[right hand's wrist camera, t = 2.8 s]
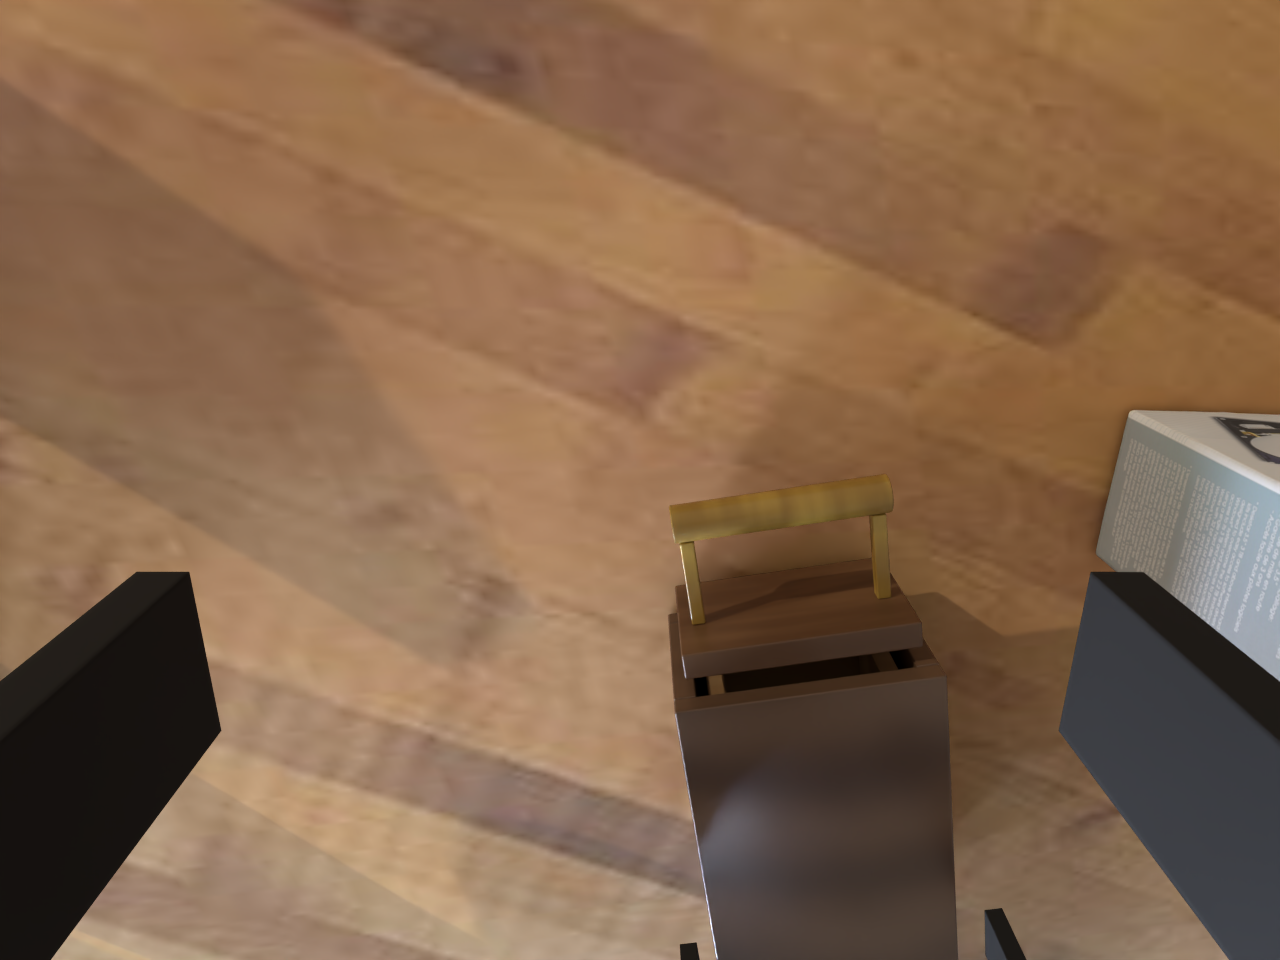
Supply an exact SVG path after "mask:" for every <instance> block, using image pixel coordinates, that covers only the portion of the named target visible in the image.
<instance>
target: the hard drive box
mask: <svg viewBox="0 0 1280 960" xmlns="http://www.w3.org/2000/svg"><path fill="white" fill-rule="evenodd" d="M1096 554H1097V556H1098V557H1100V558H1101V559H1102V560H1103V561H1104V562H1106V563H1107V564H1108V565H1109V566H1110V567H1111V568H1112V569H1113V570H1115V571H1116V572H1144V573H1145V574H1147V575H1148V576H1149V577H1150V578H1152V579H1153V580H1154V581H1155V582H1157V583H1158V584H1159V585H1160V586H1162V587H1163V588H1164V589H1165V590H1167V591H1168V592H1169V593H1170V594H1171V595H1173V596H1174V597H1175V598H1176V599H1178V600H1179V601H1180V602H1181V603H1183V604H1184V605H1185V606H1186V607H1188V608H1189V609H1190V610H1191V611H1193V612H1194V613H1195V614H1196V615H1198V616H1199V617H1200V618H1201V619H1203V620H1204V621H1205V622H1206V623H1208V624H1209V625H1210V626H1211V627H1213V628H1214V629H1215V630H1216V631H1218V632H1219V633H1220V634H1221V635H1223V636H1224V637H1225V638H1226V639H1228V640H1229V641H1230V642H1231V643H1233V644H1234V645H1235V646H1236V647H1238V648H1239V649H1240V650H1241V651H1242V652H1244V653H1245V654H1246V655H1247V656H1249V657H1250V658H1251V659H1252V660H1254V661H1255V662H1256V663H1257V664H1259V665H1260V666H1261V667H1262V668H1264V669H1265V670H1266V671H1267V672H1269V673H1270V674H1271V675H1272V676H1274V677H1275V678H1276V679H1277V680H1279V681H1280V415H1274V414H1245V413H1230V412H1197V411H1150V410H1132V411H1130V413H1129V415H1128V419H1127V422H1126V426H1125V430H1124V434H1123V438H1122V443H1121V447H1120V451H1119V455H1118V459H1117V463H1116V467H1115V471H1114V475H1113V479H1112V484H1111V488H1110V492H1109V496H1108V500H1107V504H1106V508H1105V513H1104V517H1103V521H1102V526H1101V530H1100V535H1099V539H1098V544H1097V548H1096Z"/></svg>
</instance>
